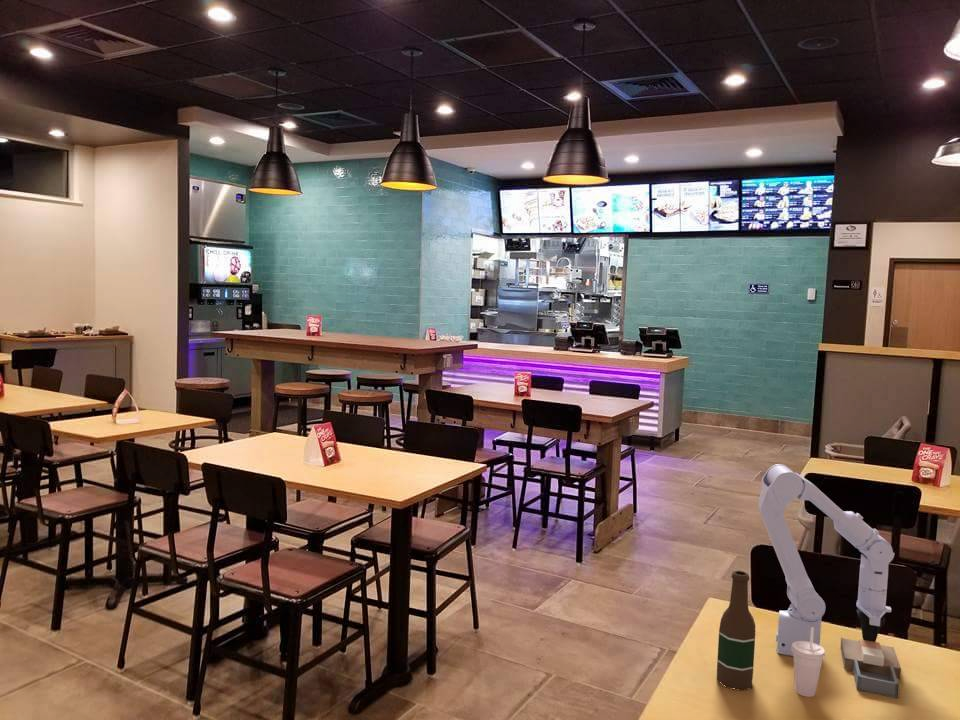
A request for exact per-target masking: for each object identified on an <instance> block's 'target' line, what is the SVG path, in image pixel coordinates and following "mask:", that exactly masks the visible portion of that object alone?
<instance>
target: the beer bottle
mask: <svg viewBox="0 0 960 720" xmlns="http://www.w3.org/2000/svg"><path fill="white" fill-rule="evenodd" d="M731 579H732V582H731V592H730V598H729V605H728V607H727V608H726V609H725V611H724V612H723V614H722V616H721V619H720V622H719V628H718V629H719V630H718V643H717V662H716V664H717V665H716V681H717V680H718V681H719V682H721V683H722V684H723V685H725V686H726V687H729V688H728V689H730V688H735V689H739V690H741V691H745V690H744V689H746V690H749V689H748V688H750V689H752V687H753V686H752V685H753V678H754V663H755V649H756V648H755V645H756V623H755V619H754V616H753V615H752V613H751V611H750V610H749V590H748V589H749V586H748V584H749V581H750V575H749V573H748V572H746V571H742V570H734V571H732V573H731ZM718 681H717V682H718ZM719 682H718V683H719ZM721 683H720V684H721ZM722 684H721V685H722ZM723 685H722V686H723ZM725 686H724V687H725ZM726 687H725V688H726ZM735 689H734V690H735ZM739 690H738V691H739Z"/></svg>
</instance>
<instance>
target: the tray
mask: <svg viewBox="0 0 960 720" xmlns="http://www.w3.org/2000/svg"><path fill="white" fill-rule="evenodd" d="M852 673H853V677H854V678H853V679H854V682H855V683H854V684H855V688H856V691H859V692H865V693H866V692H867V693H870V694H876V695H879V696H886V697H890V698H895V699H898V698H899V688H900V687H899V685H900V683H899V679H897V677H896V674H895V671H894V668H893V665H891V664H889V676H885V675H880V674H875V673H870V672H864V671H860V670H859V666H858V661H857V658H854V661H853V670H852Z"/></svg>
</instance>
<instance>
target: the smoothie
mask: <svg viewBox="0 0 960 720" xmlns="http://www.w3.org/2000/svg"><path fill="white" fill-rule="evenodd" d="M813 634H814V628H813V627H811V635H810V642H807V641H796V642H794V643H792V648H791V649H792V651H793V656H792V657H793V667H794V681H795V682H794V684H795V692H796V693H797V694H799V695H801V696H803V697H809V698H812V697H814V696H816V692H817V687H818V683H819V677H820V674H821V673H820V672H821V669H822V663H823V660H824V659H823V658H825V656H826V655H825V654H826V651H825V649H824V648H823V646H821V645H820V646H819V645H817V644H815V643H813Z"/></svg>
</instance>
